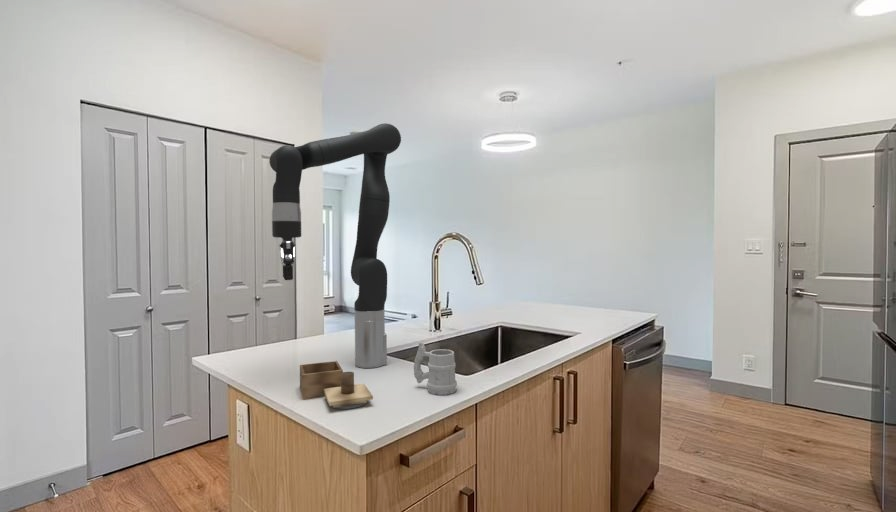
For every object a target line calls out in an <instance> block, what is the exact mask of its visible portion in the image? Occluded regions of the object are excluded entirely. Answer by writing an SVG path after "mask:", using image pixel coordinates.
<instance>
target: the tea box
mask: <svg viewBox="0 0 896 512" xmlns="http://www.w3.org/2000/svg"><path fill="white" fill-rule="evenodd" d="M343 372H344V371H343V368H342V367H341V365H340V363H339V362H338V360H333V361H324V362H323V361H322V362H314V363H306V364H304V363H303V364H299V388H300V392H301V393H300V394H301V398H302V400H303V401H304V400H310V399H316V398H317V399H318V398H326V396H325V394H324V389H326V388H334V387H341V373H343Z"/></svg>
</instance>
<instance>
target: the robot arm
mask: <svg viewBox="0 0 896 512" xmlns="http://www.w3.org/2000/svg"><path fill="white" fill-rule="evenodd" d="M401 142H402V135H401V132H400V131H399V129H398V128H397V126H395V125H394V124H391V123H385V122H384V123H379V124H377V125H376V126H373V127H372V128H369V129H368V130H365V131H364V130H363V131H361V132H356V133H353V134H349V135H343V136H337V137H336V136H335V137H329V138H324V139H318V140H313V141H309V142H307V143H304V144H301V145H299V146H298V145H297V146H294V145H289V144H287V145H282V146H280V147H278V148H277V149H275V150H274V151H273V152H271V154H270V156H269V166H270V168H271V169H272V170H273V171H274V172H275V181H274V183H273V186H272V208H271V209H272V210H271V218H272V219H271V225H272V226H271V229H272V230H271V231H272V232H271V233H272V237H273V238H279V239H282V241H281V243H280V244H279V245H278V247H279V248H278V249H279V252H280V257H279V258H280V260H281V265H282V277H283V280H284V281H293V280H294V268H293V267H294V263H295V258H296V257H295V256H296V254H295V253H296V252H295V251H296V244H295V243H294V240H293V238H296V239H297V238H301V237H302V211H301V193H300V192H301V191H300V185H301V180H302V174H303V170H306V169H310V168H315V167H321V166H322V167H323V166H326V165H331V164H334V163H338V162H342V161H345V160H348V159H350V158H351V159H352V158H353V157H357V156H360V155H361V156H362V155H363V172H362V180H361V189H360V190H361V191H360V197H359V206H358V218H357V219H358V221H357V230H356V240H355V241H356V242H355V247H354V252H353V256H352V262H351V266H350V276H351V279H352V281H353V283H354V284H356V285H357V286H358V297H357V299H355V301H354V303H353V304H354V306H353V307H354V308H353V309H354V365H355V367H357V368H363V369H372V368H378V367H383V366H387V365H388V356H387V355H388V351H387V350H388V346H387V345H388V344H387V342H388V340H387V338H388V336H387V333H385V332H386V329H385V327H386V326H385V323H386V322H385V304H386V302H387V301H386V300H387V298H388V271H387V266H386V265H385V263H384V262H383V261H382V260H380V259H378V258H377V257H378V247H379V242H380V239H381V236H382V234H383V232H384V229H385V228H386V224H387V222H388V217H389V211H390V198H391V197H390V192H389V191H390V189H389V187H388V184H387V183H388V182H387V180H386V163H387V157H388V155H389V154H391V153H394V152H396V150H398V149H399V147H400V145H401Z"/></svg>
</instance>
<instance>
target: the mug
mask: <svg viewBox="0 0 896 512" xmlns="http://www.w3.org/2000/svg"><path fill="white" fill-rule="evenodd" d="M425 357H428V363H427V368H428V371H427V372H424V371H423V370H422V368H421V367H422V366H421V364H422V361H423V360H424V358H425ZM456 364H457V363H456V362H455V351H454V350H451V349H444V348H443V349H442V348H441V349H439V348H438V349H433V350H430V351H426V346H425V344H424V342H422V341H419V342H418V349H417V352H416V355H415V358H414V363H413V375H414V379H416V382H417V384H421V383H422V382H423V381H424V380H426V379H427V381H426V387H427V389H428V393H430V394H432V395H434V396H435V395H438V396H446V395H447V394H448V395H451V394H453V393H456V390H457V386H458V382H457V380H456V366H457V365H456Z"/></svg>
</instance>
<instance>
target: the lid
mask: <svg viewBox="0 0 896 512" xmlns="http://www.w3.org/2000/svg"><path fill="white" fill-rule="evenodd" d="M324 394H325V396H326V397H325V398H326V402H327V404H328V407H330V406H332V405H333V406H334V408H335V407H341V406H348V405H354V404H361V403H366V404H367V403H368V401H371V400H373V399H374V395H373V394H372V393H371V391H370V390H369V389H368V387H367V386H366V384H365V383H357V384H355V372H354V371H343V373H341V387H334V388H326V389H324ZM367 400H368V401H367ZM334 408H333V409H334Z"/></svg>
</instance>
